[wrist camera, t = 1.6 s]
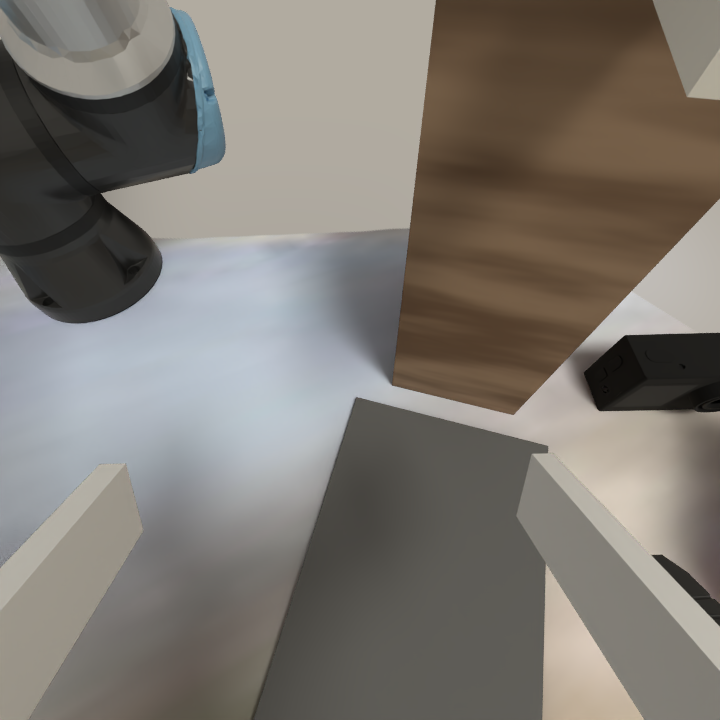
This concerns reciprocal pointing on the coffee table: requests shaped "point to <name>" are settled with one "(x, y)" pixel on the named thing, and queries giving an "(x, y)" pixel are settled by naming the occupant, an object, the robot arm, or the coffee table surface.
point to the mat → (416, 581)
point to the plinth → (542, 188)
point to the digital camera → (658, 373)
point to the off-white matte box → (693, 43)
